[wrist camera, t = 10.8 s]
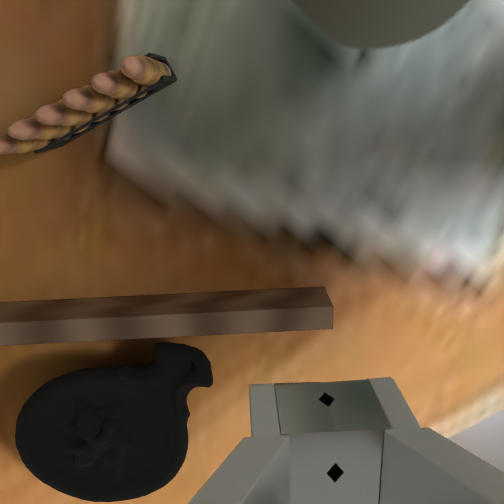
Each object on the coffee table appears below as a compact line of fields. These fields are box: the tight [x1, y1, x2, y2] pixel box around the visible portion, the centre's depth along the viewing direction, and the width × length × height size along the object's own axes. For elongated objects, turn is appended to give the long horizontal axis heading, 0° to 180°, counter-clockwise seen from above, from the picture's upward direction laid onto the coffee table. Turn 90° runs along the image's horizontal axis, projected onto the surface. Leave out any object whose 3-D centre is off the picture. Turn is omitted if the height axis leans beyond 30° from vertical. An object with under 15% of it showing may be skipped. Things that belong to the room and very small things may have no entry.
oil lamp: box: [15, 342, 213, 502], centre depth 41 cm, size 15×20×5 cm
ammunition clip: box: [0, 53, 177, 155], centre depth 30 cm, size 11×2×12 cm, turn 118°
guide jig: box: [0, 287, 333, 346], centre depth 40 cm, size 34×15×5 cm, turn 92°
